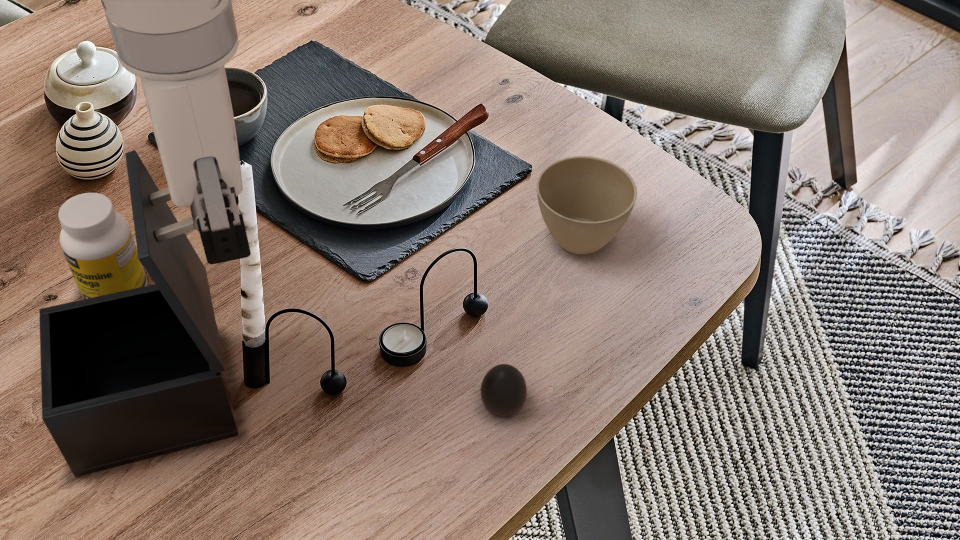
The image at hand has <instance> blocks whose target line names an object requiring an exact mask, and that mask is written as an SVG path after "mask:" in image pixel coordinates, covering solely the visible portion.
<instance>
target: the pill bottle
mask: <svg viewBox="0 0 960 540" xmlns="http://www.w3.org/2000/svg"><path fill="white" fill-rule="evenodd" d="M57 215H58V220H59V223H60V225H61V230H60V232H59V245H60V247H61V250H62V253H63V255H64V258H65V260H66V262H67V265H68V268H69V270H70V273H71V274H72V276H73V279H74V281H75V285H76V286H77V289H78V291H79V293H80V296H81V298H82V300H83V299H88V298H93V297H97V296H102V295H107V294H112V293H116V292H121V291H126V290H130V289H135V288H140V287H144V286H148V279H147V275H146V272H145V268H144V267H143V265H142V264H141V262H140V261H139V259H138V252H137V244H136V241H135V239H134V236H133V233H132V230H131V227H130V224H129V223H128V220H127V219H126V218H125V216H123V215H122V214H121V213H119V212H118V211H116V209H115V206H114V205H113V202H112V200H111V198H109V197H108V196H107V195H105V194H102V193H100V192H99V193H98V192H84V193H79V194H76V195H74V196H72V197H70V198H69V199H67V200H66V201H64V202H63V203H62V204H61V206H60V208H59V210H58V214H57Z"/></svg>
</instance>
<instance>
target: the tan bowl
mask: <svg viewBox="0 0 960 540" xmlns="http://www.w3.org/2000/svg"><path fill="white" fill-rule="evenodd" d="M536 196H537V202H538V206H539V207H538V208H539V210H540V214H541V217H542V219H543V222H544V224H545V226H546V228H547V230H548V231H549V233H550V235H551V236H552V238H553V239H554V240H555V242H556V243H557V244H558V245H559V246H560V247H561V248H562V249H563V250H565V251H566V252H568V253H571V254H573V255H581V256H582V255H583V256H585V255H591V254H594V253H596V252H598V251H600V250H601V249H602V248H603V247H605V246H606V245H608V244H609V243H610V242H611V241H612V240H613V239H614V238H615V237H616V236H617V235H618V233H619V232H620V231H621V230H622V228H623V227H624V226H625V225H626V223H627V221H628V219H629V217H630V215H631V214H632V211H633V209H634V206H635V204H636V200H637V198H638V197H637V196H638V188H637V185H636V182H635V180H634V178H633V177H632V175H631V174H629V172H628V171H627V170H625V169H624V168H623V167H621V166H620V165H618V164H617V163H615V162H613V161H610V160H608V159H605V158H602V157H597V156H591V155H574V156H568V157H563V158H561V159H557V160H555V161H553V162H552V163H550V164H548V165H547V166H546V167H545V168H544V169H543V170H542V171H541V172H540V174H539V176H538V178H537V182H536Z"/></svg>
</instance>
